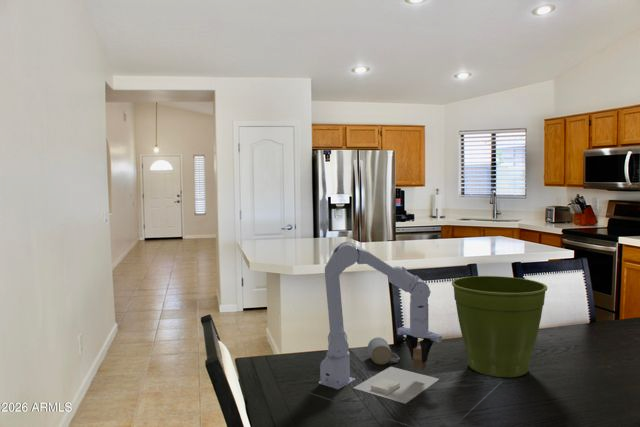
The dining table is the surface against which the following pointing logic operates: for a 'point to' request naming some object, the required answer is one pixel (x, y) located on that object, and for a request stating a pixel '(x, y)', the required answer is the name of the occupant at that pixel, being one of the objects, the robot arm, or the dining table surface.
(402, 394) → the mat
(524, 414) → the dining table surface
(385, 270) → the robot arm
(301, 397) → the dining table surface
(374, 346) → the ceramic mug
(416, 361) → the wooden block
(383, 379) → the tile
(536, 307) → the plant pot
